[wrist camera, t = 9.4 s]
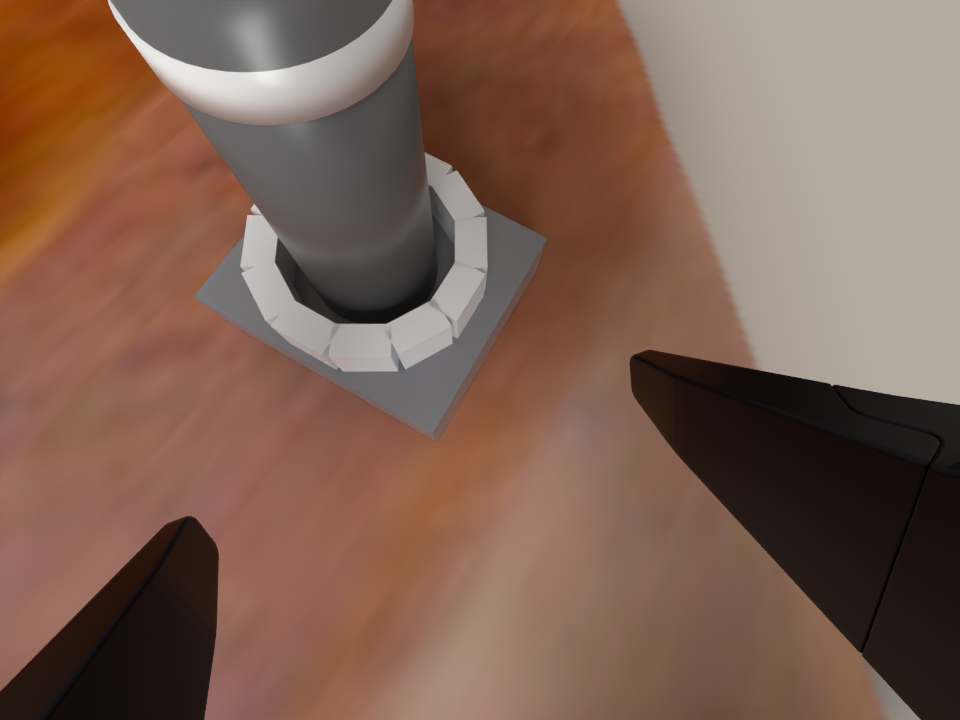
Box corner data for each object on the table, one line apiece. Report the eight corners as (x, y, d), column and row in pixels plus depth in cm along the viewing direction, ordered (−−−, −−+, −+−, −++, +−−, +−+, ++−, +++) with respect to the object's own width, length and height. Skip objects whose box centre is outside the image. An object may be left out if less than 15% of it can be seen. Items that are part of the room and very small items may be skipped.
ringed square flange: (536, 270, 23) (556, 210, 18) (436, 442, 20) (428, 426, 15) (346, 172, 24) (316, 90, 19) (230, 323, 21) (162, 274, 16)
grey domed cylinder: (460, 296, 19) (455, -25, 7) (338, 348, 18) (115, 79, 6) (410, 196, 20) (337, -213, 9) (293, 239, 19) (41, -146, 8)
